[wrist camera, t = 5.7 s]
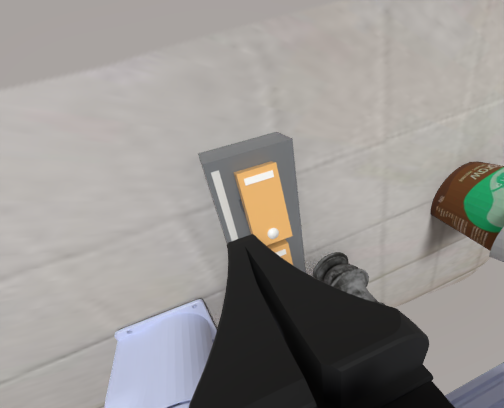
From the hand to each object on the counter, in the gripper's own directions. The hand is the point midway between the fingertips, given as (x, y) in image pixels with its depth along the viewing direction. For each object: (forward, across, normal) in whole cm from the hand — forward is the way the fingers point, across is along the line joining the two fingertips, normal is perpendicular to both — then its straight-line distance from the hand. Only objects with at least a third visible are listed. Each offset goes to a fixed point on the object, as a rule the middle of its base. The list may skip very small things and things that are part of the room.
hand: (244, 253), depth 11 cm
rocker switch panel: (+10, -3, +8) cm, 14 cm away
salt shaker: (+11, -12, +17) cm, 23 cm away
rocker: (+6, -3, +2) cm, 7 cm away
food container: (+11, -31, +10) cm, 34 cm away
